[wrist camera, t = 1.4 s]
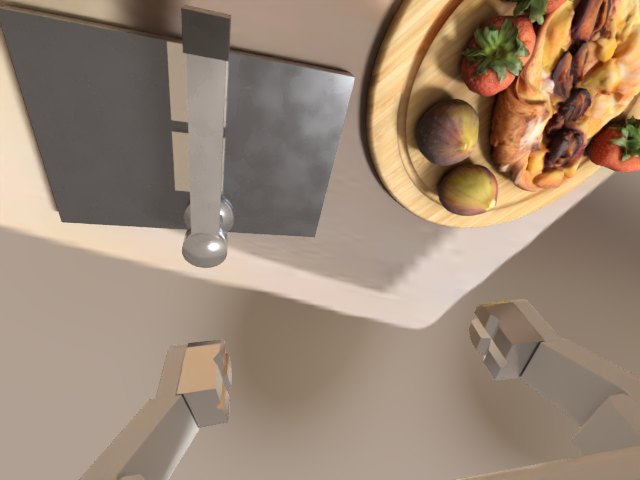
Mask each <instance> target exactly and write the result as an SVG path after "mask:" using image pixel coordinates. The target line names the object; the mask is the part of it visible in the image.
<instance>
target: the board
mask: <svg viewBox="0 0 640 480" xmlns="http://www.w3.org/2000/svg"><path fill="white" fill-rule="evenodd" d="M0 23H1V27H2V30H3V33H4V36H5V40H6V43H7V46H8V49H9V53H10V56H11V59H12V62H13V66H14V69H15V72H16V75H17V78H18V82H19V85H20V88H21V91H22V95H23V98H24V101H25V104H26V108H27V111H28V114H29V117H30V121H31V124H32V127H33V130H34V134H35V137H36V140H37V143H38V147H39V150H40V153H41V156H42V160H43V163H44V166H45V169H46V173H47V176H48V179H49V182H50V185H51V189H52V192H53V195H54V198H55V202H56V205H57V208H58V211H59V215H60V218H61V221H62V222H68V223H85V224H102V225H119V226H136V227H152V228H169V229H186V230H188V229H189V228H190V227H191V211H190V173H189V134H188V96H187V58H186V53H183V43H182V39H177V38H172V37H167V36H162V35H157V34H152V33H147V32H142V31H137V30H132V29H127V28H122V27H117V26H112V25H107V24H101V23H96V22H91V21H86V20H81V19H76V18H71V17H66V16H61V15H56V14H51V13H46V12H41V11H36V10H31V9H26V8H20V7H15V6H10V5H6V6H1V7H0ZM354 80H355V77H354V76H353V75H352V74H351V73H350V72H345V71H339V70H334V69H329V68H324V67H319V66H314V65H309V64H304V63H299V62H294V61H289V60H284V59H279V58H274V57H269V56H264V55H258V54H253V53H248V52H243V51H238V50H233V49H230V52H229V61H226V77H225V104H224V130H223V157H222V183H221V209H220V228H221V229H223V230H224V231H225V233H227V232H237V233H254V234H271V235H288V236H305V237H315V234H316V230H317V226H318V222H319V218H320V214H321V210H322V206H323V202H324V198H325V194H326V190H327V186H328V182H329V178H330V174H331V170H332V166H333V163H334V159H335V155H336V151H337V147H338V143H339V139H340V135H341V131H342V127H343V123H344V119H345V115H346V111H347V107H348V103H349V99H350V95H351V91H352V87H353V84H354Z"/></svg>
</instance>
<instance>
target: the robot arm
mask: <svg viewBox="0 0 640 480" xmlns="http://www.w3.org/2000/svg"><path fill="white" fill-rule="evenodd" d="M475 315H476V316H477V317H476V318H475V319H474V320H473V321H472V322H471V324H470V327H469V334H470V339H471V342H472V344H473V346H474V347H475V349H476V350H477V351H478V352H480V353H481V354H483V355H484V360H483V362H484V364H485V366H486V367H487V369H488V370H489V372H490V374H491V375H492V377H493V379H494V380H503V379H511V378H519V377H521V378H520V379H521V380H522V381H523V382H525V383H526V384H527V385H529V386H530V387H531V388H533V389H534V390H535V391H536V392H538V393H539V394H540V395H542V396H543V397H544V398H545V399H547V400H548V401H549V402H551V403H552V404H553V405H554V406H555V407H557V408H558V409H559V410H561V411H562V412H563V413H565V414H566V415H567V416H568V417H570V418H571V419H572V420H574V421H575V422H576V423H578V424H579V425H580V426H581V428H580V429H579V430H578V431H577V432H576V433H575V434H574V436H573V438H572V442H573V443H574V445H575V446H576V448H577V449H578V451H579V452H580V454H581V455H582V456H579V457H574V458H569V459H563V460H557V461H552V462H547V463H542V464H536V465H530V466H525V467H520V468H514V469H509V470H504V471H498V472H493V473H487V474H482V475H476V476H471V477H466V478H460V479H455V480H640V378H639V377H638V376H636V375H634V374H632V373H630V372H628V371H626V370H624V369H622V368H620V367H619V366H617V365H615V364H613V363H611V362H609V361H607V360H606V359H604V358H601V357H600V356H598V355H596V354H594V353H592V352H590V351H589V350H587V349H585V348H583V347H581V346H579V345H577V344H575V343H574V342H572V341H570V340H568V339H561V338H560V337H559V336H558V334H557V333H556V332H555V331H554V330H553V329H552V328H551V326H550V325H549V324H548V323H547V322H546V321H545V320H544V318H543V317H542V316H541V315H540V314H539V313H538V312H537V310H536V309H535V308H534V307H533V306H532V305H531V304H530V303H529V302H528V301H527V300H525V299H520V300H513V301H503V302H496V303H489V304H482V305H479V306H478V307H476V310H475ZM225 351H226V345H225V342H224V340H214V341H205V342H195V343H186V344H178V345H171V346H170V348H169V350H168V352H167V355H166V360H165V363H164V367H163V371H162V375H161V378H160V382H159V386H158V390H157V394H156V398H154V399H150V400H149V401H148V402H147V403H146V404H145V406H144V407H143V408H142V409H141V410H140V411H139V412H138V413H137V414H136V416H135V417H134V418H133V419H132V420H131V421H130V422H129V424H128V425H127V426H126V427H125V428H124V429H123V430H122V431H121V433H120V434H119V435H118V436H117V437H116V438H115V439H114V440H113V442H112V443H111V444H110V445H109V446H108V447H107V448H106V450H105V451H104V452H103V453H102V454H101V455H100V456H99V457H98V459H97V460H96V461H95V462H94V463H93V464H92V465H91V466H90V468H89V469H88V470H87V471H86V472H85V473H84V474H83V475H82V477H81V478H80V479H79V480H168V479H169V477H170V476H171V474H172V473H173V471H174V469H175V468H176V466H177V465H178V463H179V461H180V459H181V458H182V456H183V455H184V453H185V452H186V450H187V448H188V446H189V445H190V443H191V442H192V440H193V439H194V437H195V435H196V434H197V432H198V430H199V427H205V426H210V425H216V424H221V423H227V422H228V419H229V406H230V399H229V396H228V393H227V391H228V389H229V388H230V387H231V378H232V375H231V363H230V358H229V355H228V354H226V353H225Z"/></svg>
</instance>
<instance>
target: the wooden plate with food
mask: <svg viewBox="0 0 640 480" xmlns="http://www.w3.org/2000/svg"><path fill="white" fill-rule="evenodd" d="M366 133H367V141H368V147H369V151H370V155H371V158H372V162H373V165H374V167H375V170H376V172H377V174H378V176H379V178H380V180H381V182H382V183H383V185H384V187H385V188H386V190H387V191H388V192H389V193H390V195H391V196H392V197H393V198H394V199H395V200H396V201H397V202H398V203H399V204H400V205H401V206H402V207H404V208H405V209H406V210H408V211H409V212H411V213H412V214H414V215H416V216H418V217H420V218H422V219H424V220H427V221H429V222H432V223H435V224H439V225H444V226H449V227H457V228H472V227H482V226H489V225H494V224H499V223H503V222H507V221H510V220H513V219H516V218H519V217H522V216H525V215H527V214H529V213H532V212H534V211H536V210H538V209H540V208H542V207H544V206H546V205H548V204H550V203H551V202H553V201H555V200H557V199H558V198H560V197H561V196H563V195H565V194H566V193H568V192H569V191H571V190H572V189H573V188H575V187H576V186H578V185H579V184H580V183H582V182H583V181H584V180H585V179H587V178H588V177H589V176H590V175H592V174H593V173H594V172H595V171H596V170H597V169H599V168H600V167H601V166H604V167H607V168H609V169H611V170H614V171H618V172H627V171H637V170H640V0H403V2H402V3H401V5H400V7H399V9H398V11H397V13H396V14H395V16H394V18H393V20H392V22H391V24H390V26H389V28H388V30H387V32H386V35H385V37H384V39H383V42H382V44H381V46H380V49H379V52H378V55H377V57H376V60H375V64H374V67H373V71H372V75H371V80H370V85H369V91H368V97H367V110H366Z"/></svg>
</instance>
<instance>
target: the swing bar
mask: <svg viewBox="0 0 640 480" xmlns="http://www.w3.org/2000/svg"><path fill="white" fill-rule="evenodd" d="M181 12H182V43H183V53H186V58H187V96H188V134H189V173H190V211H191V227H190V228H189V229H188V230H187V232H186V234H185V238H184V243H183V247H182V254H183V256H184V258H185V259H186V261H188V262H189V263H190V264H192V265H194V266H197V267H202V268H210V267H214V266H217V265H219V264H221V263H222V262H223V261H224V260H225V258H226V256H227V245H228V238H227V235H226V233H225V231H224V230H223V229H221V228H220V209H221V183H222V157H223V130H224V104H225V77H226V61H229V52H230V29H231V15H228V14H224V13H219V12H215V11H210V10H206V9H201V8H197V7H192V6H188V5H185V6H183V7H182V8H181Z"/></svg>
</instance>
